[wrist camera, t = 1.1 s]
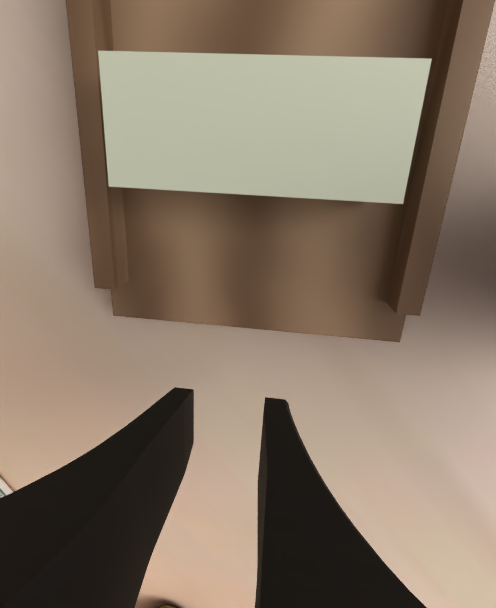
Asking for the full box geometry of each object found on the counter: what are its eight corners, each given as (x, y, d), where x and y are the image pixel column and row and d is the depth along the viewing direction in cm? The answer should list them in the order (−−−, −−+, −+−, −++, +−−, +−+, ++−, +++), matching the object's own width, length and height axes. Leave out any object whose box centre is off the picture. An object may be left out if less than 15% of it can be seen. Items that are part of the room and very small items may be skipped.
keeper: (390, 95, 13) (431, 58, 10) (373, 199, 15) (402, 204, 11) (147, 86, 14) (97, 50, 10) (151, 186, 16) (108, 186, 12)
